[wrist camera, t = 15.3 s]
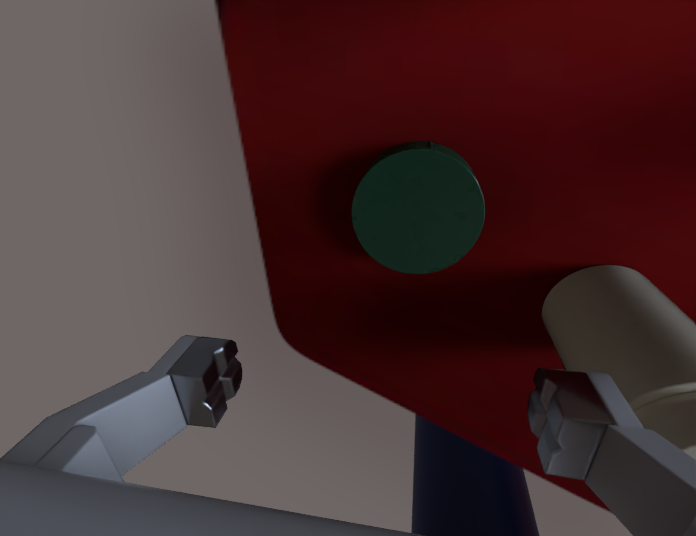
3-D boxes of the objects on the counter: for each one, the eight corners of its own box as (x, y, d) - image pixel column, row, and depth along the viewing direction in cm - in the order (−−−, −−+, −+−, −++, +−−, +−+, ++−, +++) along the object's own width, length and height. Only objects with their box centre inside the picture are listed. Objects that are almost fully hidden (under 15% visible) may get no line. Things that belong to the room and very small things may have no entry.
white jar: (623, 357, 23) (762, 559, 13) (526, 335, 24) (593, 514, 14) (679, 277, 20) (908, 462, 10) (566, 254, 21) (687, 410, 11)
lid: (368, 129, 19) (361, 136, 17) (497, 151, 19) (505, 161, 17) (351, 244, 23) (343, 260, 21) (459, 266, 22) (462, 285, 20)
